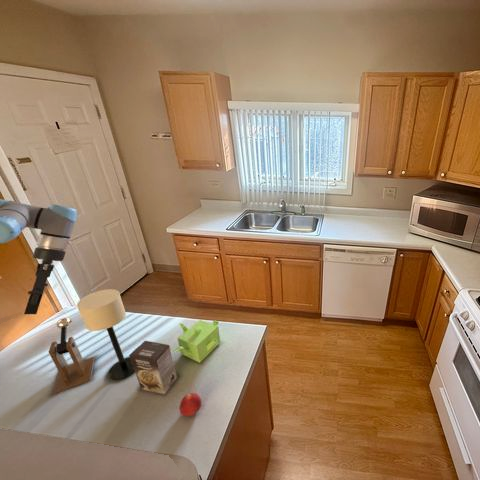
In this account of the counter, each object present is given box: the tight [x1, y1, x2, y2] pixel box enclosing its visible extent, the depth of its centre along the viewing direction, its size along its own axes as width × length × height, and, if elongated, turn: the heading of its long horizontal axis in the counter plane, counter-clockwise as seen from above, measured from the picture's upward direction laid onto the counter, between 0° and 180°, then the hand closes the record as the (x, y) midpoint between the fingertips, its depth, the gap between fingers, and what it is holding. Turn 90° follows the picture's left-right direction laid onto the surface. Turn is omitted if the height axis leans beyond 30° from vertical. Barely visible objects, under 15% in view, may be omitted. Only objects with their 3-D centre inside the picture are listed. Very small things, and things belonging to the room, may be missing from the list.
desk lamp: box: [76, 288, 135, 381], centre depth 83 cm, size 10×10×31 cm
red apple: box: [179, 392, 202, 417], centre depth 76 cm, size 6×6×8 cm
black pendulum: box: [56, 317, 73, 355], centre depth 84 cm, size 12×4×4 cm, turn 33°
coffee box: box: [128, 340, 178, 395], centre depth 82 cm, size 9×6×16 cm
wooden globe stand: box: [48, 336, 96, 395], centre depth 84 cm, size 11×9×15 cm
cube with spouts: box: [174, 319, 221, 363], centre depth 97 cm, size 15×14×11 cm
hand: (32, 309), depth 87 cm, fingers open, 13 cm apart
